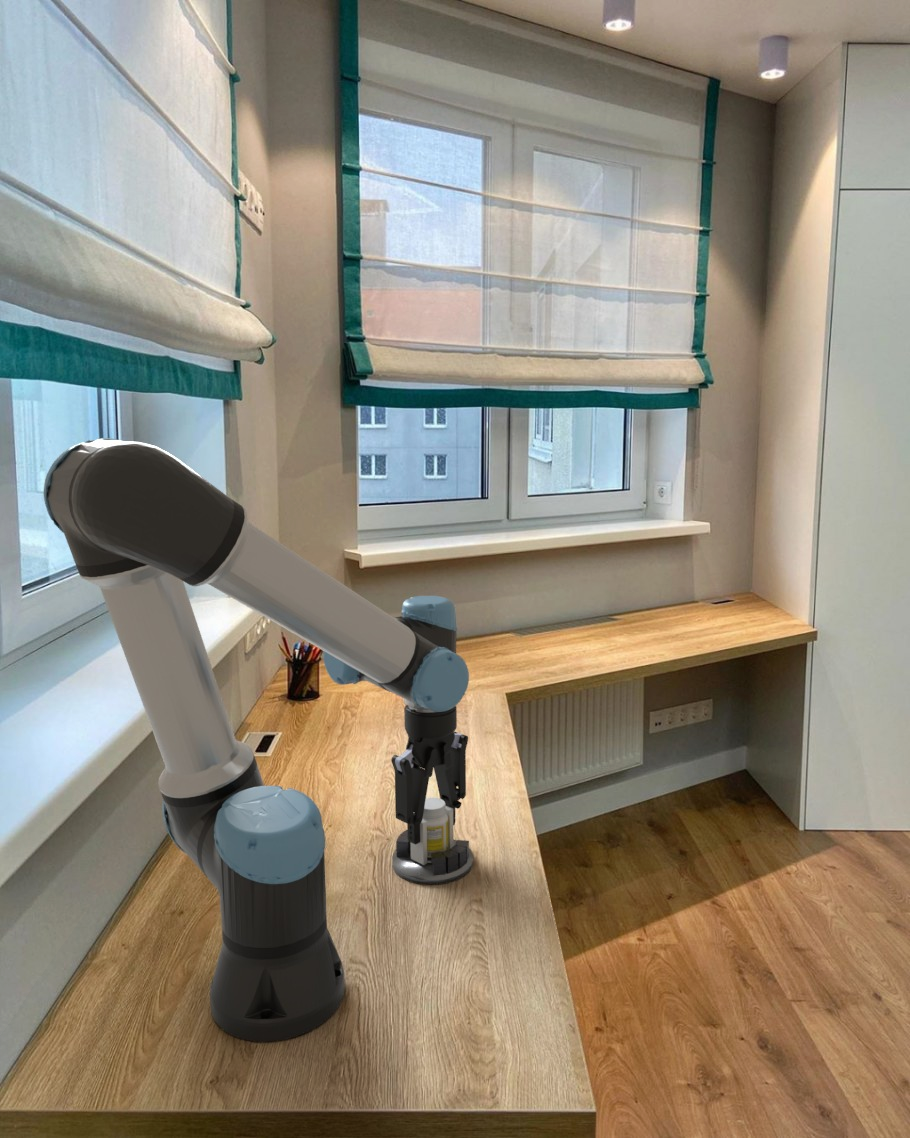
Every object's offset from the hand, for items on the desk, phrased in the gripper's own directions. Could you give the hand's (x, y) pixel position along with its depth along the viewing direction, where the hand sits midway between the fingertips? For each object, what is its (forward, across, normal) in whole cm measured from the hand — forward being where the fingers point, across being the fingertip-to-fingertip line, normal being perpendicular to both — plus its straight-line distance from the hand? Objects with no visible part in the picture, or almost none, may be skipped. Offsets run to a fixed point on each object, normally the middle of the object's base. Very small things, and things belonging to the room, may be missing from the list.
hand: (432, 853), depth 128 cm
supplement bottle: (+1, 0, 0) cm, 1 cm away
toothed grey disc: (+2, 0, 0) cm, 2 cm away
